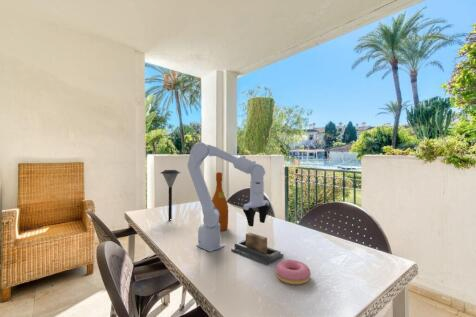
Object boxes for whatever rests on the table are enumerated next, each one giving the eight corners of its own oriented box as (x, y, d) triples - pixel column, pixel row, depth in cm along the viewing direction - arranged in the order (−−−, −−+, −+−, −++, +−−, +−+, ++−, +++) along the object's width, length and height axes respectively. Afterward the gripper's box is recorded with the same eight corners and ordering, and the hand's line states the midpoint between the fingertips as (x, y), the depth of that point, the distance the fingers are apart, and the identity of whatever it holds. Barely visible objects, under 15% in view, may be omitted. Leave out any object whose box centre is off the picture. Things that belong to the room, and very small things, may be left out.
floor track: (231, 250, 94) (231, 244, 94) (247, 244, 101) (247, 238, 101) (267, 265, 81) (267, 258, 81) (283, 256, 89) (283, 250, 89)
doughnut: (285, 266, 81) (285, 254, 81) (316, 276, 74) (316, 263, 74) (268, 278, 73) (268, 265, 73) (301, 291, 66) (301, 277, 66)
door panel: (245, 248, 94) (245, 233, 94) (249, 247, 95) (249, 232, 95) (263, 255, 87) (263, 239, 87) (267, 253, 89) (267, 237, 89)
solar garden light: (158, 218, 142) (158, 169, 142) (178, 216, 148) (178, 169, 147) (160, 223, 131) (161, 170, 131) (182, 221, 136) (182, 170, 136)
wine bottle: (206, 231, 119) (207, 172, 118) (213, 225, 128) (213, 171, 128) (225, 233, 116) (225, 173, 116) (230, 227, 126) (230, 171, 126)
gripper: (252, 195, 91) (252, 229, 91) (274, 191, 101) (274, 222, 101) (239, 193, 96) (239, 226, 96) (261, 190, 106) (261, 219, 106)
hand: (256, 224), depth 99 cm, fingers open, 7 cm apart
